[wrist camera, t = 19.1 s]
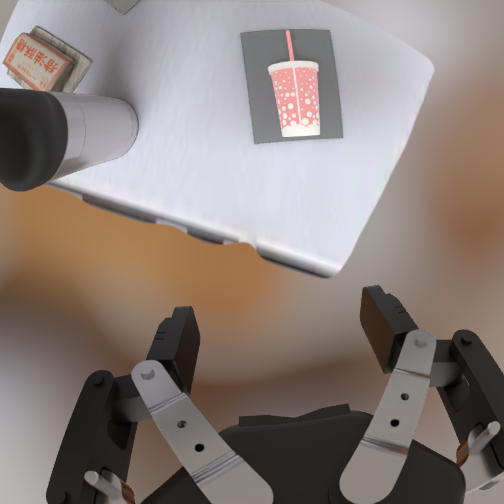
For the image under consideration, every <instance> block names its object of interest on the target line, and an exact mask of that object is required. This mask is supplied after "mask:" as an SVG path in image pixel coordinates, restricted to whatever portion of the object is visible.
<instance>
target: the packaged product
mask: <svg viewBox="0 0 504 504" xmlns="http://www.w3.org/2000/svg"><path fill="white" fill-rule="evenodd" d="M3 64H4V65H6V67H7V68H8V71H7V74H8V75H9V76H10V77H12V78H13V79H14V80H15V81H16V82H17V83H18V84H19V85H21V86H22V87H23V88H24V89H30V90H36V91H53V92H68V93H73V91H74V90H75V88H76V87H77V85H78V84H79V82H80V81H81V79H82V78H83V76H84V75H85V73H86V72H87V70H88V69H89V67H90V65H91V64H92V62H91V61H90V60H88V59H87V58H86V57H84V56H83V55H82V54H80V53H79V52H77V51H76V50H74V49H72V48H71V47H69V46H67V45H66V44H64V43H62V42H61V41H60V40H59V39H57V38H56V37H53V36H51V35H50V34H49V33H47V32H46V31H44V30H42V29H40V28H38V27H37V26H35V27H34V28H33V30H32V31H31V33H30V34H28V33H21V35H19V37H17V38H16V39H15V42H14V43H13V45H12V47H11V48H10V50H9V52H8V53H7V55H6V57H5V59H4V61H3Z"/></svg>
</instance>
